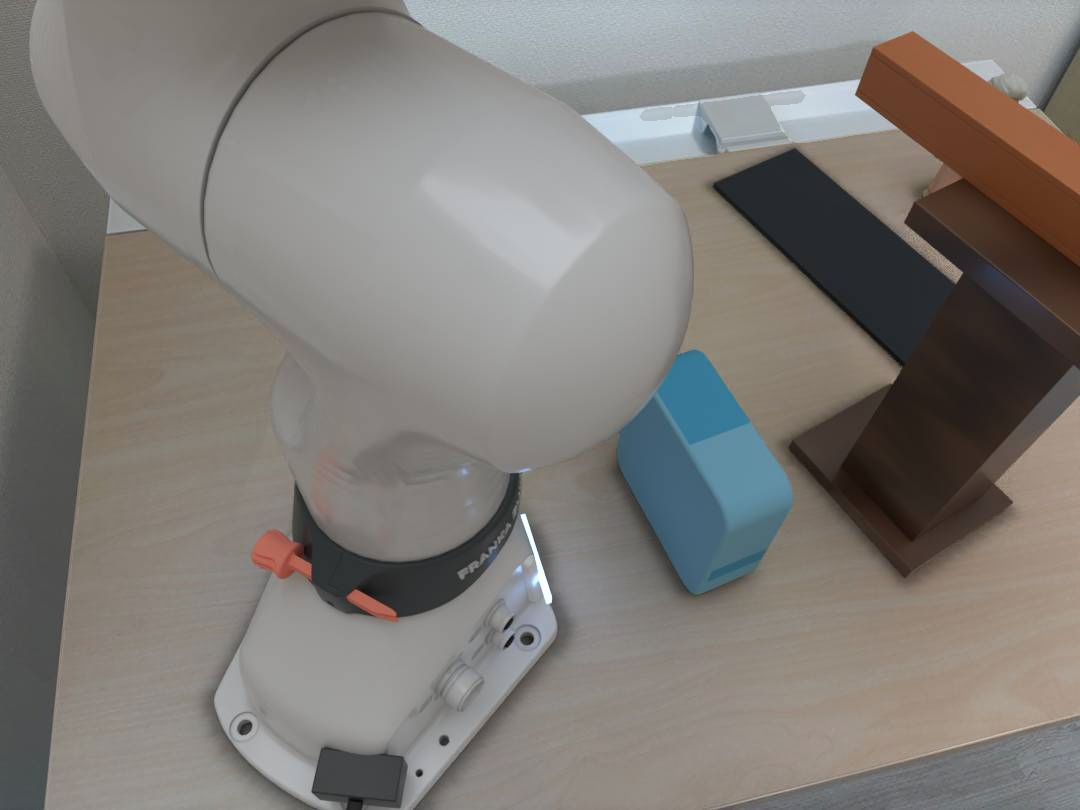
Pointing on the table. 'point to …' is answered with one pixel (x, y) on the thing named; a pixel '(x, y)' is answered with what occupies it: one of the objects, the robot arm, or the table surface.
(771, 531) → the blue rounded case
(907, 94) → the terracotta beam
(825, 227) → the mat
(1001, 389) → the stand
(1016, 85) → the grandmother figurine
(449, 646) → the robot arm
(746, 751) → the table surface
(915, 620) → the table surface
